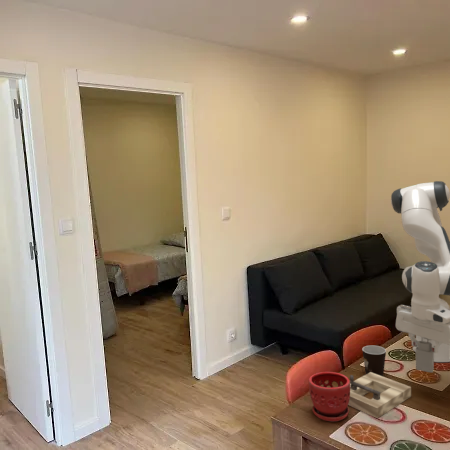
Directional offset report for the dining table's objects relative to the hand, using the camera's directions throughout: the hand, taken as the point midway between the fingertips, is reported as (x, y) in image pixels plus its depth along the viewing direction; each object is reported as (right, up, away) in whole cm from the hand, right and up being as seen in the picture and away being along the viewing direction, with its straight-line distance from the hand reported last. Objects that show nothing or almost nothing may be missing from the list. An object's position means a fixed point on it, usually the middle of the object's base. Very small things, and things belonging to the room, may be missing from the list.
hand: (424, 349), depth 154 cm
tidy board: (-17, -18, +2) cm, 24 cm away
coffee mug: (-11, -15, +21) cm, 28 cm away
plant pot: (-34, -20, -6) cm, 40 cm away
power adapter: (0, -7, +1) cm, 8 cm away
